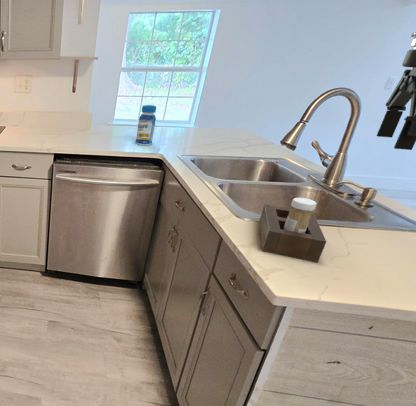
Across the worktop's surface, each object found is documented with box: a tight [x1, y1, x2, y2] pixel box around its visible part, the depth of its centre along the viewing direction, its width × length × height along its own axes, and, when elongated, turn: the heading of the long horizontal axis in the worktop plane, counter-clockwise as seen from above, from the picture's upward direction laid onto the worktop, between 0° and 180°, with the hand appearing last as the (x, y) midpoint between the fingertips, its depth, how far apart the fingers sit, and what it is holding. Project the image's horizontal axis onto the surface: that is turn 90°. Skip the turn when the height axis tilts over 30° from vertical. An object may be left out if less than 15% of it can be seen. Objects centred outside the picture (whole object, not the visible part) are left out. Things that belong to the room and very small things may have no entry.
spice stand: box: [258, 203, 327, 263], centre depth 98 cm, size 11×20×6 cm, turn 147°
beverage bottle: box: [135, 104, 157, 146], centre depth 193 cm, size 8×8×20 cm
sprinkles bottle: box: [283, 197, 317, 234], centre depth 94 cm, size 5×5×13 cm
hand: (392, 142), depth 89 cm, fingers open, 13 cm apart
